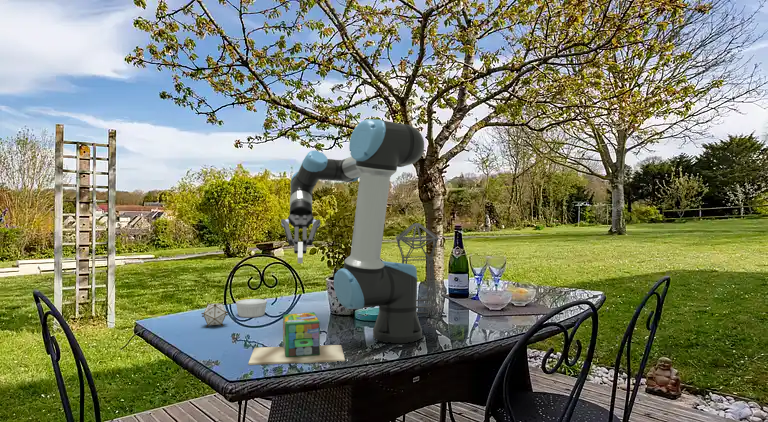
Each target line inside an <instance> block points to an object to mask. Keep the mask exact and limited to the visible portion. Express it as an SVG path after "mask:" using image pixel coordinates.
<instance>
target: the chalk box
mask: <svg viewBox="0 0 768 422" xmlns="http://www.w3.org/2000/svg"><path fill="white" fill-rule="evenodd" d="M320 322H321V321H320V320H319V319H318V316H317V315H316V312H313V311H311V312H299V313H298V312H297V313H288V314H287V313H286V314H283V317H282V338H283V339H282V347H284V352H285V356H286V357H298V356H310V355H320V346H321V344H320V342H321V341H320V338H321V337H320V335H321V332H320V330H321V329H320V326H321V325H320V324H321V323H320Z"/></svg>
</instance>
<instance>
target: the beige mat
mask: <svg viewBox="0 0 768 422" xmlns="http://www.w3.org/2000/svg"><path fill="white" fill-rule="evenodd" d="M248 360H249V361H248V366H254V365H255V366H257V365H259V366H260V365H281V364H283V365H284V364H306V363H307V364H309V363H311V364H313V363H333V362H335V363H338V362H337V361H341V362H345V361H346V359H345V355H344V351H343V346H342V345H341V344H333V345H332V344H330V345H329V344H327V345H326V344H325V345H323V344H322V345H320V355H310V356H298V357H286V356H285V352H284V347H283V346H271V347H270V346H263V347H254V348H253V350H252V353H251V355H250V358H249V359H248Z"/></svg>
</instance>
